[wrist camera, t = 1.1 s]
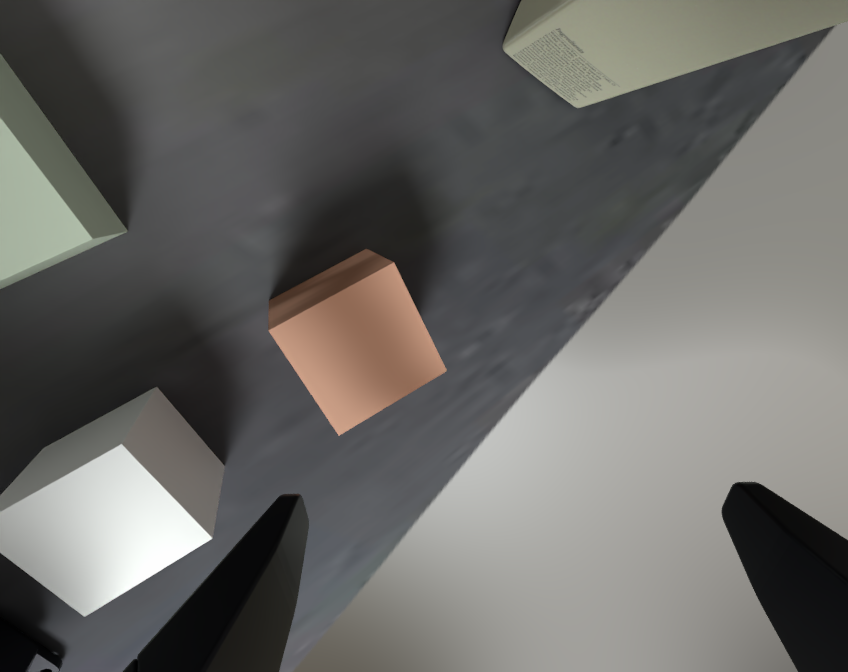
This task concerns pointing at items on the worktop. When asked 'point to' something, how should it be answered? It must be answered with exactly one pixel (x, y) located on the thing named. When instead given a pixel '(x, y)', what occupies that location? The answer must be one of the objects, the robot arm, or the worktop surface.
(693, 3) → the box
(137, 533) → the grey cube
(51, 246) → the sage base block
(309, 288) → the terracotta cube
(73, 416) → the worktop surface
